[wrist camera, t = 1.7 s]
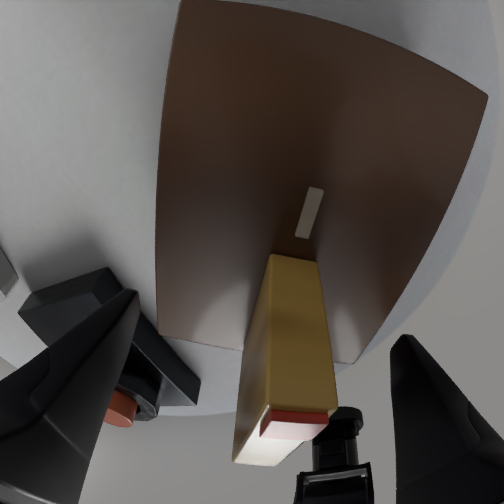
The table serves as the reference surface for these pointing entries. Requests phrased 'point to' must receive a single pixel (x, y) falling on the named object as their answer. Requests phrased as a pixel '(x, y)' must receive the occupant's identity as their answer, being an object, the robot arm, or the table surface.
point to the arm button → (121, 410)
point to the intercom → (6, 277)
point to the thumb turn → (284, 366)
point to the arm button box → (141, 350)
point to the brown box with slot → (299, 168)
